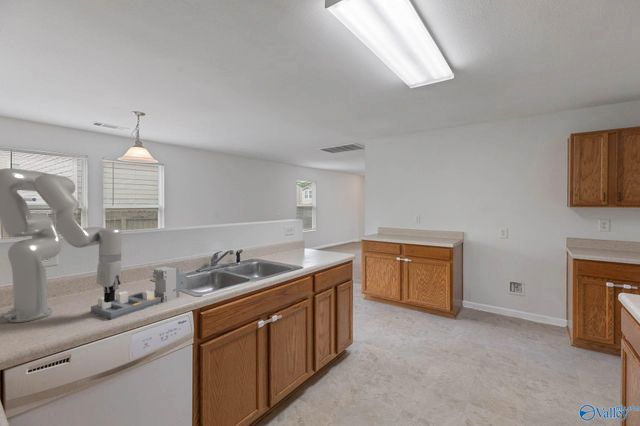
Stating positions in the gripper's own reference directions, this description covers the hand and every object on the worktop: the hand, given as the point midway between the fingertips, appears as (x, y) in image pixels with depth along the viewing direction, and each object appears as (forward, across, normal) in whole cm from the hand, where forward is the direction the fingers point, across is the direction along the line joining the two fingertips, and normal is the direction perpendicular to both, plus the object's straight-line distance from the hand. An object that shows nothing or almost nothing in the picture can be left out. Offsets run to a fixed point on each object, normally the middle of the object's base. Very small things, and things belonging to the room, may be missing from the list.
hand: (109, 301), depth 118 cm
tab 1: (+4, -5, +1) cm, 6 cm away
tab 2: (+4, -5, +8) cm, 10 cm away
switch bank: (+5, 0, +8) cm, 9 cm away
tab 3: (+4, +3, +15) cm, 15 cm away
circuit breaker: (+5, +4, +26) cm, 27 cm away
